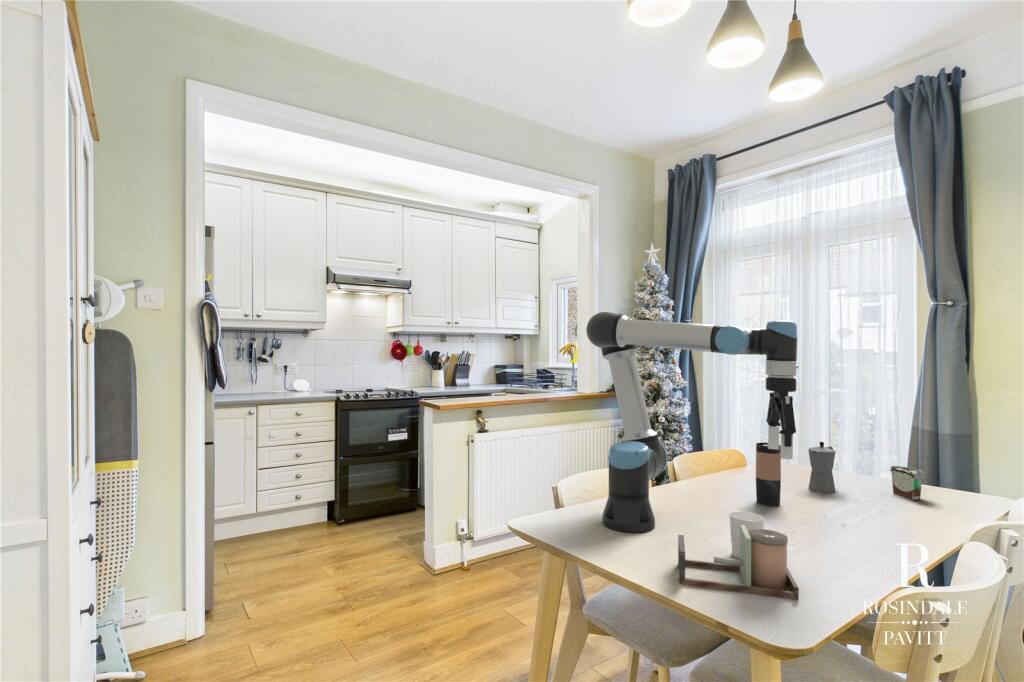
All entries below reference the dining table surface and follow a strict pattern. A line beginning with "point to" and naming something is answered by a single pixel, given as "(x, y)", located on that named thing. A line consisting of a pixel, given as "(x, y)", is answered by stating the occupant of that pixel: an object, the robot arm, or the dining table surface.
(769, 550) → the terracotta jar
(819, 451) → the coffeepot
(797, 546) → the dining table surface
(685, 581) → the brown wooden rack
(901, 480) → the food container
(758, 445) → the travel mug
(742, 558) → the pusher plate
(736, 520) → the white cup
